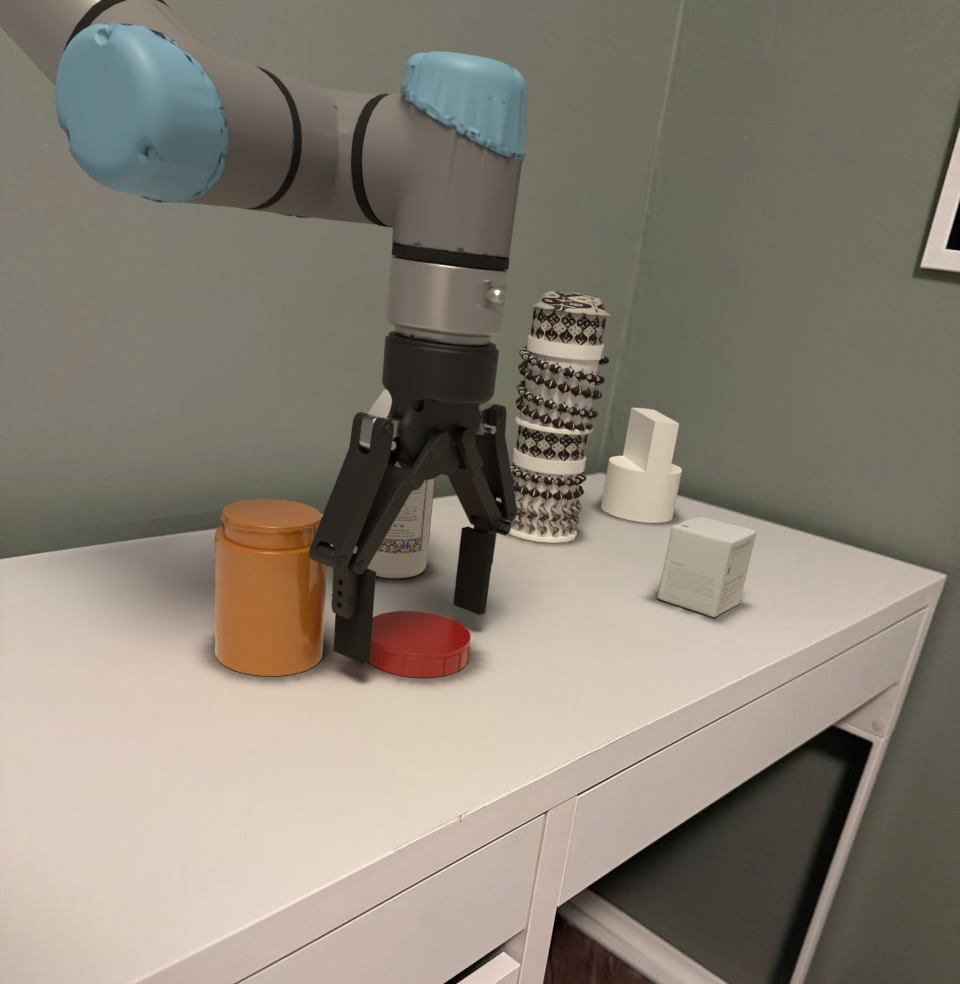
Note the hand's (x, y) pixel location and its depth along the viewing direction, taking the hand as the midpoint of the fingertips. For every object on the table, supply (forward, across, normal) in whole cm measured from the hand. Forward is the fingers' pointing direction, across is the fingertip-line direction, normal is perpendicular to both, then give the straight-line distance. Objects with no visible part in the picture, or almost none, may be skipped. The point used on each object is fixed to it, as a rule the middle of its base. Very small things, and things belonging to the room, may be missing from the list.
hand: (414, 631), depth 69 cm
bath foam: (+2, +13, +14) cm, 19 cm away
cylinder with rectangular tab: (+2, +54, +9) cm, 55 cm away
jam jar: (+2, -8, +7) cm, 11 cm away
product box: (+2, +30, -10) cm, 32 cm away
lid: (0, 0, 0) cm, 0 cm away
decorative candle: (+2, +36, +12) cm, 38 cm away
